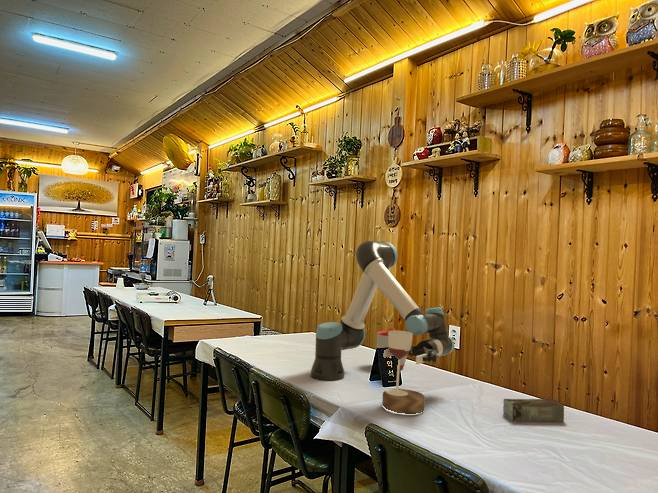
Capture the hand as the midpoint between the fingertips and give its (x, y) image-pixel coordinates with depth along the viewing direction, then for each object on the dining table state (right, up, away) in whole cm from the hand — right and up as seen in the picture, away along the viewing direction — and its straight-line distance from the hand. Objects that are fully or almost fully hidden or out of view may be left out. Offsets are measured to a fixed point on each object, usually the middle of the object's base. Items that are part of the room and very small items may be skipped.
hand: (400, 356), depth 174 cm
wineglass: (0, -14, +5) cm, 15 cm away
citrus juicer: (+6, -20, +65) cm, 68 cm away
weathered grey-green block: (+46, -22, -2) cm, 51 cm away
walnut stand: (+1, -19, +2) cm, 19 cm away
